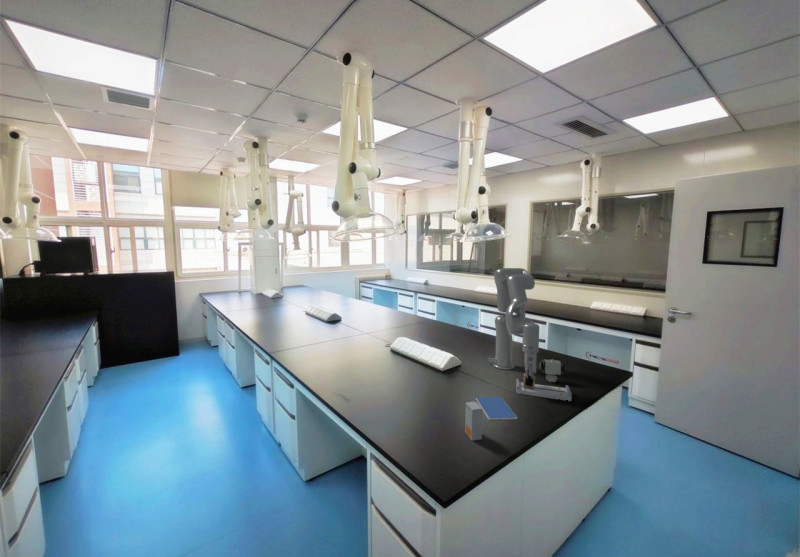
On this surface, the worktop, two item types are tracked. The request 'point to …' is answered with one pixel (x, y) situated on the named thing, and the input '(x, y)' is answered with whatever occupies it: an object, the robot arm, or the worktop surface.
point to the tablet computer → (496, 408)
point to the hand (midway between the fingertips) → (528, 383)
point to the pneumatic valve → (552, 369)
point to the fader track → (544, 391)
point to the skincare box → (473, 420)
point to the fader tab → (525, 381)
